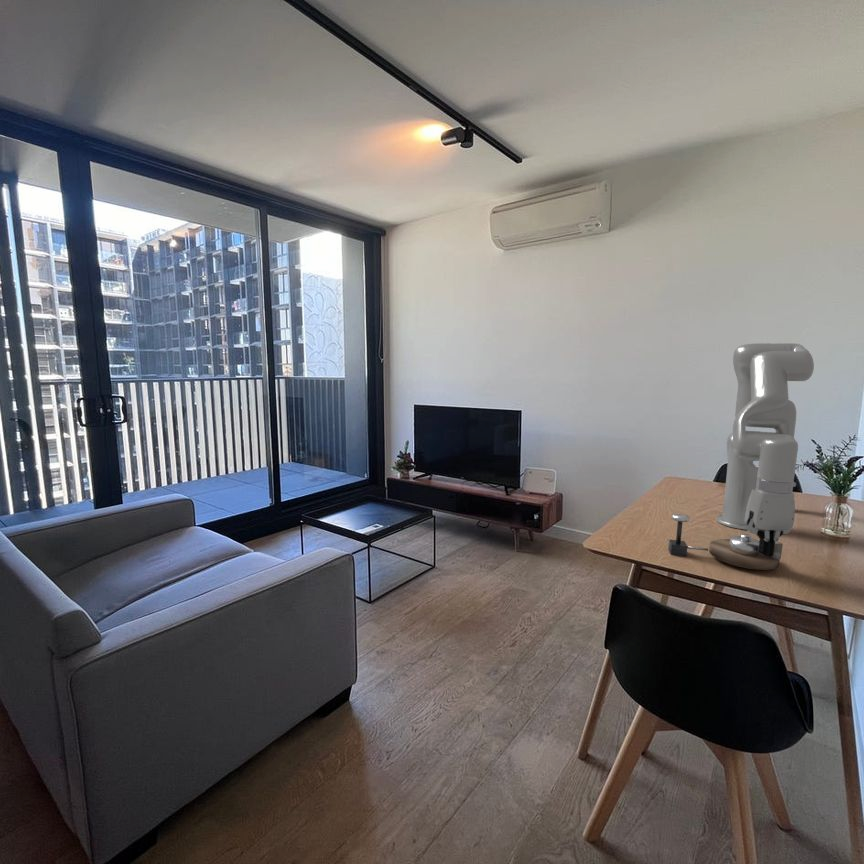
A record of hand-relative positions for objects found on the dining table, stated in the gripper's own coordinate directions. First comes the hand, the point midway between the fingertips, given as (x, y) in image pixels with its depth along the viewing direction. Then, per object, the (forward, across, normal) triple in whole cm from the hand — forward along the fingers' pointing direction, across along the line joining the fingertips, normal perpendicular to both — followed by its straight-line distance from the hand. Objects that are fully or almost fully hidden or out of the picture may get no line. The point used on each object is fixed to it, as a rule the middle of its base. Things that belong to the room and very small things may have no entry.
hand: (765, 554), depth 121 cm
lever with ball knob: (+4, +14, -10) cm, 18 cm away
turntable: (+3, +2, -6) cm, 7 cm away
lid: (+1, +2, -5) cm, 6 cm away
